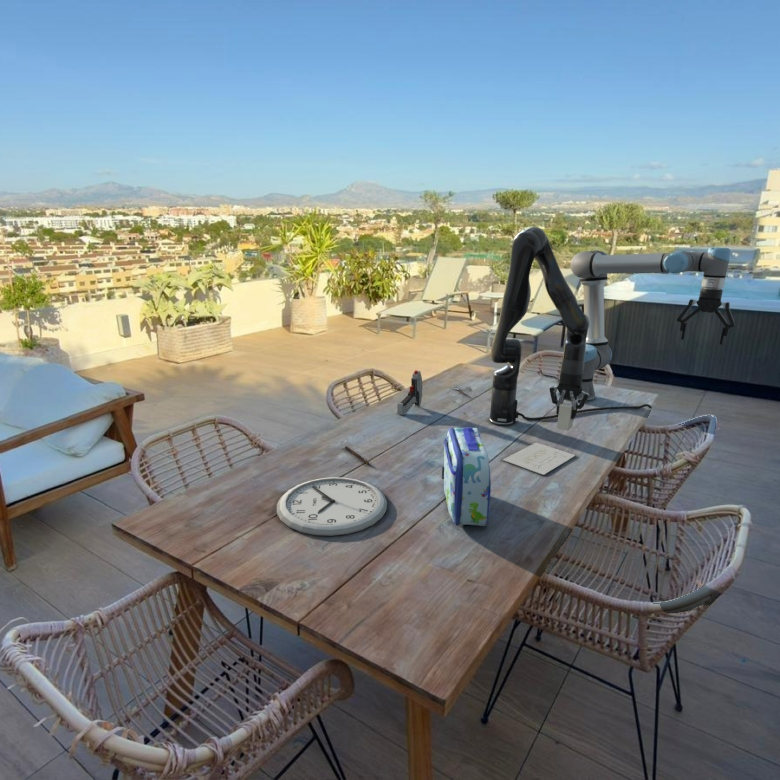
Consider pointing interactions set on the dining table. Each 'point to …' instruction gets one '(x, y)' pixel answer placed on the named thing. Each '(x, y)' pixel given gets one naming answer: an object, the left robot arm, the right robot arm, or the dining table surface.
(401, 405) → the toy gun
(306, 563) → the dining table surface
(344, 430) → the dining table surface
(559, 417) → the brick
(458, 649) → the dining table surface
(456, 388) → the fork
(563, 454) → the invitation card
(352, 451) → the brown stick
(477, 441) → the lunch box
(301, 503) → the wall clock
